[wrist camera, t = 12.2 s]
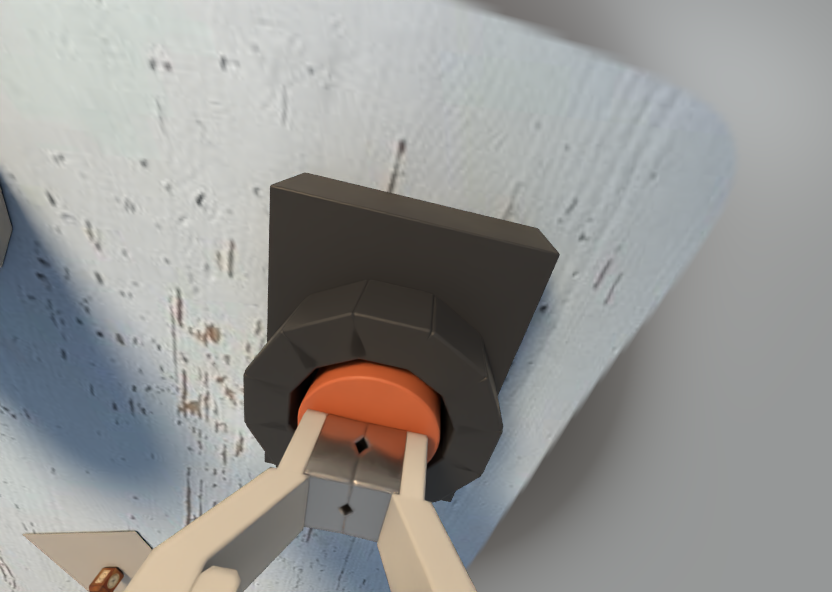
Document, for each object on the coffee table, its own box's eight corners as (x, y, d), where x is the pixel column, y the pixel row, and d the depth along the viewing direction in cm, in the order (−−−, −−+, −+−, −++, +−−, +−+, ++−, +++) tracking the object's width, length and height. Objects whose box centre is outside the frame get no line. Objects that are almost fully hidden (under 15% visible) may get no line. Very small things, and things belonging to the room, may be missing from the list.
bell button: (325, 321, 9) (300, 362, 8) (455, 351, 9) (457, 397, 8) (314, 416, 11) (292, 465, 9) (425, 440, 11) (421, 493, 9)
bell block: (304, 172, 10) (224, 200, 6) (538, 228, 10) (588, 287, 7) (288, 416, 14) (237, 512, 11) (450, 451, 15) (451, 557, 11)
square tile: (199, 601, 23) (179, 638, 21) (99, 600, 24) (73, 635, 23) (135, 531, 20) (106, 569, 18) (22, 534, 21) (-15, 570, 19)
